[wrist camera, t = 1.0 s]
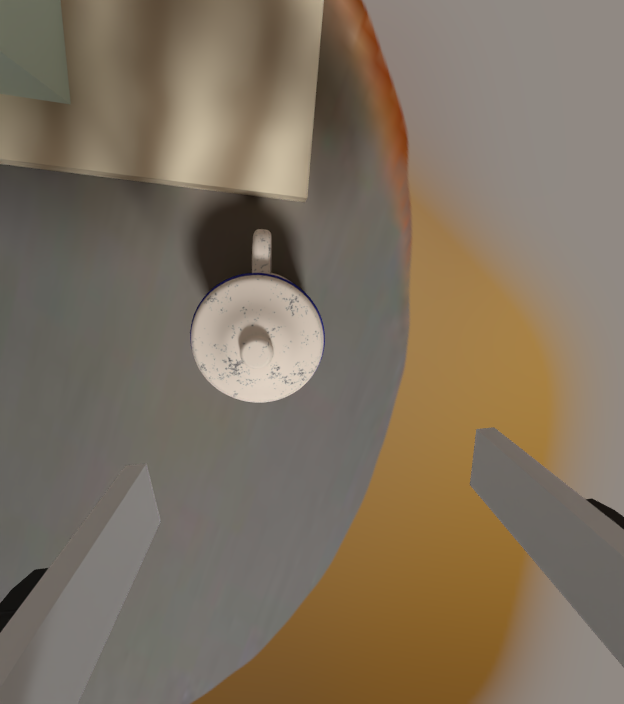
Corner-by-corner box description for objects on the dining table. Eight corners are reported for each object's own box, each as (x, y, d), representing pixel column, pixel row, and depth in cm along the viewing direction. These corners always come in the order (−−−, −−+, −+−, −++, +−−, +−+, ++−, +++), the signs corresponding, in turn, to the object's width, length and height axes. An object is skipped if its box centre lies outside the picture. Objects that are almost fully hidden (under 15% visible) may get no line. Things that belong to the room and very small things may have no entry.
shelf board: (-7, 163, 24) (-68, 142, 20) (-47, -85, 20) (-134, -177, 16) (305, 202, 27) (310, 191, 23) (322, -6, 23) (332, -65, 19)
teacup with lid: (309, 365, 31) (326, 423, 20) (216, 363, 30) (180, 423, 19) (316, 238, 28) (342, 224, 17) (212, 231, 27) (165, 211, 16)
